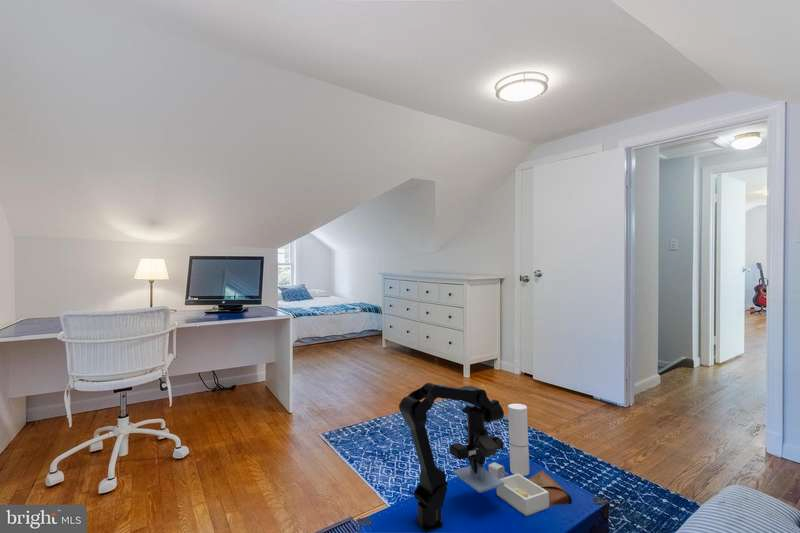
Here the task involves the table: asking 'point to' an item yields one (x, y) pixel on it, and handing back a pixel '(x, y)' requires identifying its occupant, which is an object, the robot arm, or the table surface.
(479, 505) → the table surface
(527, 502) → the tub
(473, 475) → the lid
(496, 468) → the usb wall charger
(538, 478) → the sunglasses case
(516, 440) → the cylindrical container
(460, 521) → the table surface
